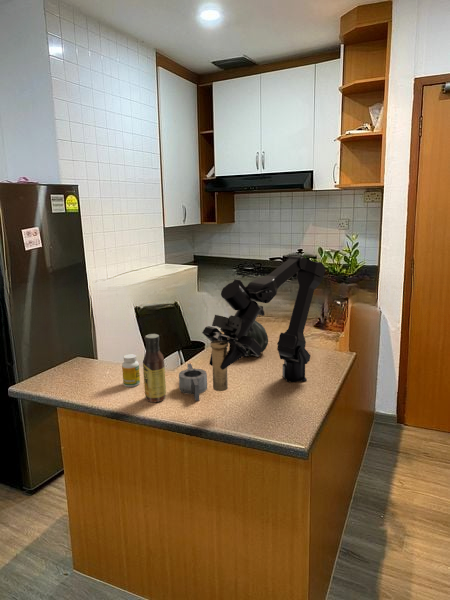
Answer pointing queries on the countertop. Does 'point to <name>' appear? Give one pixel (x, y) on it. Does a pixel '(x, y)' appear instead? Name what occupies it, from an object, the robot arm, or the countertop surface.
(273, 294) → the robot arm
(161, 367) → the sauce bottle
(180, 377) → the grey ring with arms
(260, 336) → the squash
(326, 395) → the countertop surface
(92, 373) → the countertop surface
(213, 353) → the pin
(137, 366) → the supplement bottle
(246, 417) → the countertop surface
